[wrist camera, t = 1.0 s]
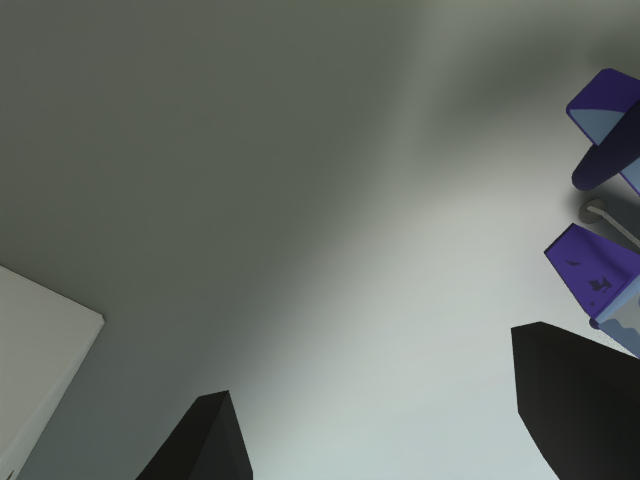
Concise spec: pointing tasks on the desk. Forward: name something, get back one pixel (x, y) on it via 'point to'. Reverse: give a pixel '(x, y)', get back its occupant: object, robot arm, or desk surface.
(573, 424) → the robot arm
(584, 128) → the toy airplane
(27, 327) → the gable box
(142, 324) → the desk surface
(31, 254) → the desk surface
